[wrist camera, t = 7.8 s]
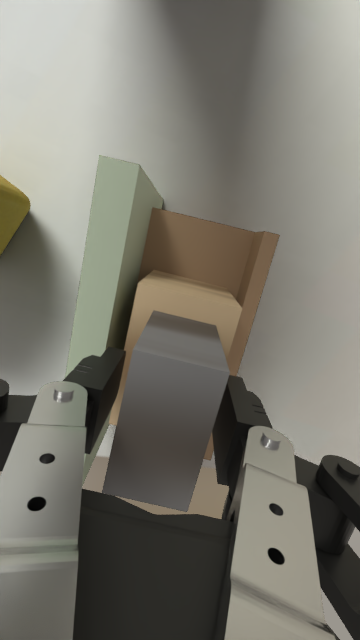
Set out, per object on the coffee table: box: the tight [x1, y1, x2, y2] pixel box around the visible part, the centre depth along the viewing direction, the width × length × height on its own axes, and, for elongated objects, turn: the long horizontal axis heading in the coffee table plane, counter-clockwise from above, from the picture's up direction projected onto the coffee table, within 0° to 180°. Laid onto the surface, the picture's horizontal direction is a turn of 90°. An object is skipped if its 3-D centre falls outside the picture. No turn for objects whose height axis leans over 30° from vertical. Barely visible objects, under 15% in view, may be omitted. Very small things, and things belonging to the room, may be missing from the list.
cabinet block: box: [102, 270, 242, 512], centre depth 15 cm, size 7×5×11 cm, turn 166°
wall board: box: [65, 155, 280, 486], centre depth 20 cm, size 16×9×11 cm, turn 167°
